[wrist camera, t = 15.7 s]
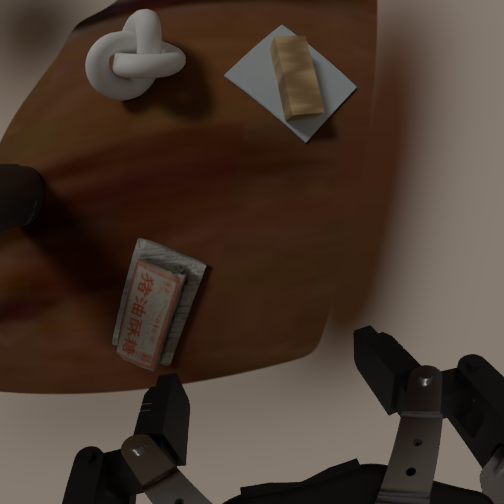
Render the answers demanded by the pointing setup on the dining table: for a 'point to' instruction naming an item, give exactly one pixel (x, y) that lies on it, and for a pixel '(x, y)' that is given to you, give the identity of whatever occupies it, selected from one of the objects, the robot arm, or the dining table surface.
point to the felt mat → (266, 88)
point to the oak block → (296, 78)
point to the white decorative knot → (132, 58)
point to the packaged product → (155, 304)
